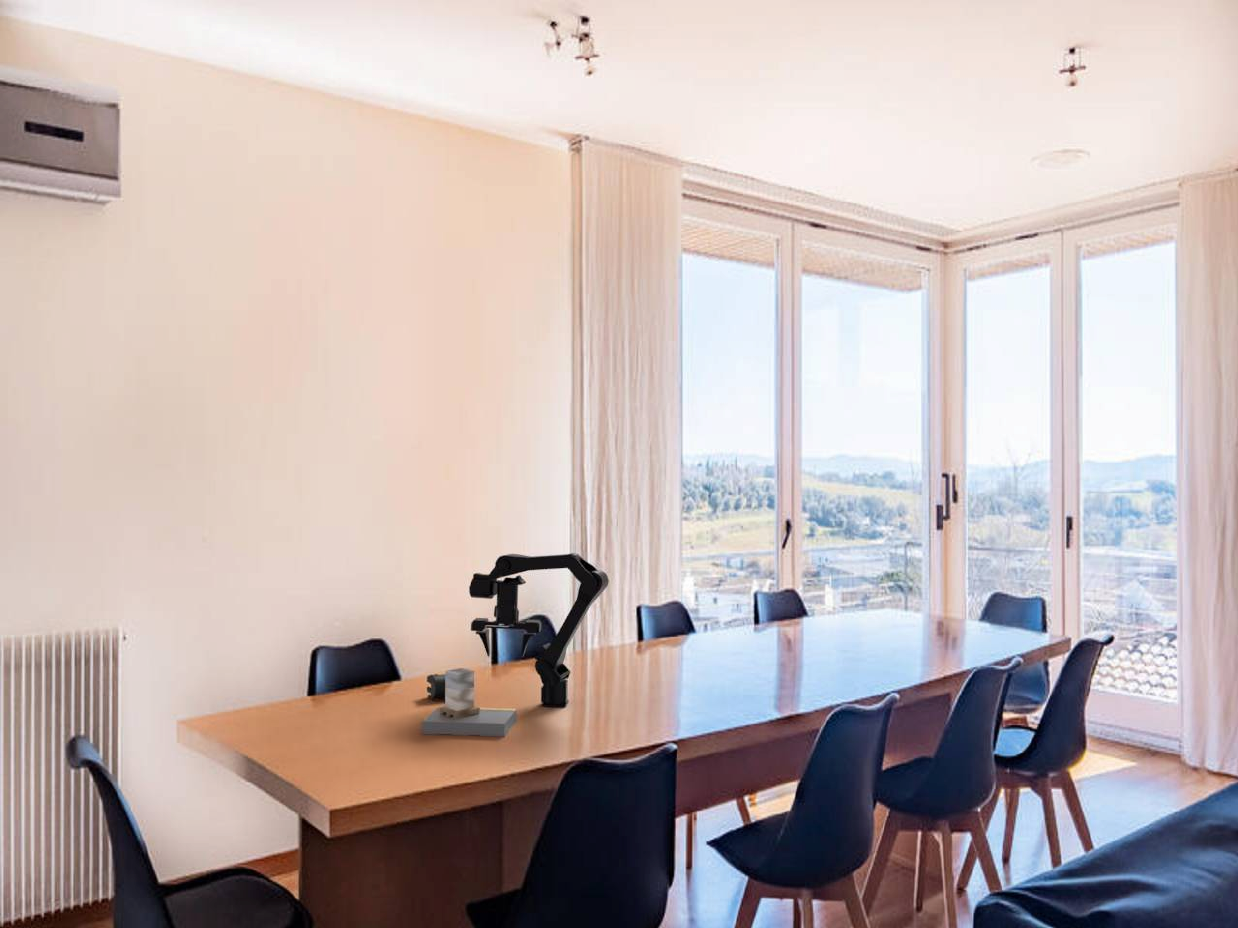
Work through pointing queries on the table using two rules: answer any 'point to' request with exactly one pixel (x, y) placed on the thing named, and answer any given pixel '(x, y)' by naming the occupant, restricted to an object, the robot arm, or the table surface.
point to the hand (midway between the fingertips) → (505, 656)
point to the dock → (471, 723)
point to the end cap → (436, 686)
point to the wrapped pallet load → (459, 694)
